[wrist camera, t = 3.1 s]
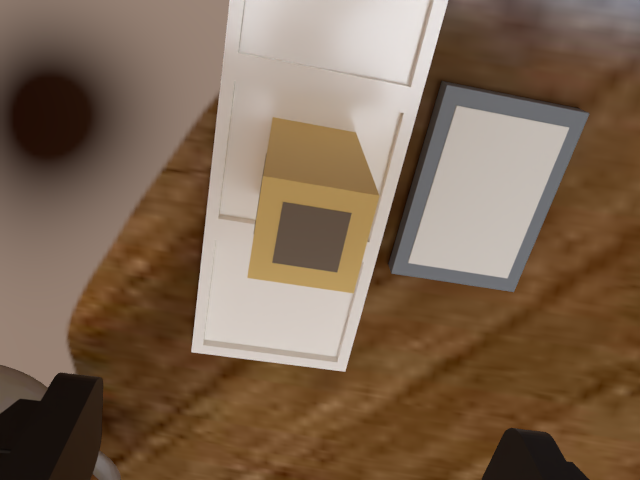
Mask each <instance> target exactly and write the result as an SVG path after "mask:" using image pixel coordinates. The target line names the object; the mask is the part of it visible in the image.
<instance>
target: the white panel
mask: <svg viewBox="0 0 640 480" xmlns="http://www.w3.org/2000/svg"><path fill="white" fill-rule="evenodd" d="M253 237H254V235H251V234H244V233H238V232H232V231H225V230H219V229H212V228H206V227H205V231H204V240H203V249H202V258H201V268H200V277H199V286H198V295H197V304H196V314H195V323H194V332H193V341H192V350H191V352H195V353H203V354H210V355H218V356H226V357H234V358H242V359H250V360H258V361H266V362H274V363H281V364H289V365H297V366H305V367H313V368H321V369H329V370H337V371H344V372H345V371H346V367H347V363H348V360H349V356H350V353H351V349H352V345H353V342H354V338H355V335H356V331H357V327H358V324H359V320H360V317H361V313H362V309H363V306H364V302H365V299H366V295H367V291H368V288H369V284H370V281H371V277H372V273H373V270H374V266H375V263H376V259H377V255H378V254H373V253H366V252H364V256H363V260H362V264H361V268H360V271H359V275H358V279H357V283H356V286H355V290H354V293H347V292H340V291H333V290H326V289H320V288H313V287H306V286H299V285H292V284H285V283H278V282H272V281H265V280H258V279H251V278H247V276H248V269H249V263H250V256H251V250H252V244H253Z"/></svg>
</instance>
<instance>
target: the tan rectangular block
mask: <svg viewBox="0 0 640 480" xmlns="http://www.w3.org/2000/svg"><path fill="white" fill-rule="evenodd" d="M378 200H379V193H378V190H377V188H376V185H375V182H374V180H373V177H372V174H371V172H370V169H369V166H368V163H367V161H366V158H365V155H364V153H363V150H362V147H361V145H360V142H359V139H358V137H357V134H356V132H351V131H346V130H340V129H335V128H329V127H324V126H318V125H313V124H308V123H302V122H297V121H291V120H286V119H280V118H275V117H273V119H272V125H271V131H270V137H269V143H268V149H267V153H266V158H265V164H264V169H263V175H262V182H261V188H260V195H259V201H258V207H257V214H256V220H255V227H254V233H253V234H254V237H253V244H252V250H251V256H250V263H249V269H248V276H247V278H251V279H258V280H265V281H272V282H278V283H285V284H292V285H299V286H306V287H313V288H320V289H326V290H333V291H340V292H347V293H354V290H355V286H356V283H357V279H358V275H359V271H360V268H361V264H362V260H363V256H364V252H365V249H366V245H367V241H368V237H369V234H370V230H371V226H372V222H373V218H374V215H375V211H376V207H377V203H378Z"/></svg>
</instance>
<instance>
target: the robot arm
mask: <svg viewBox="0 0 640 480" xmlns="http://www.w3.org/2000/svg"><path fill="white" fill-rule="evenodd" d="M102 407H103V380H102V378H101V377H93V376H85V375H76V374H67V373H58V374H57V375H56V376H55V377H54V379H53V381H52V382H51V384H50V386H49V387H48V389H47V391H46V392H45V394H44V396H43V397H42V399H41V401H37V400H29V399H19V400H17V401H16V402H15V403H13V404H12V405H11V406H9V407H8V408H7V409H5V410H4V411H3V412H1V413H0V480H90V479H91V476H92V474H93V471H94V468H95V465H96V462H97V458H98V454H99V450H100V444H101V436H102ZM482 480H589V479H588V478H587V477H586V476H585V475H584V474H583V473H582V472H581V471H580V470H579V469H578V467H577V466H576V465H575V464H574V463H573V462H566V460H565V458H564V456H563V455H562V453H561V451H560V449H559V448H558V446H557V444H556V442H555V441H554V439H553V438H552V436H551V435H550V434H548V433H546V432H540V431H532V430H523V429H515V428H510V429H508V430H506V431H505V433H504V434H503V436H502V438H501V440H500V442H499V444H498V446H497V448H496V450H495V453H494V455H493V457H492V459H491V461H490V463H489V465H488V467H487V469H486V471H485V473H484V475H483V477H482Z"/></svg>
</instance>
